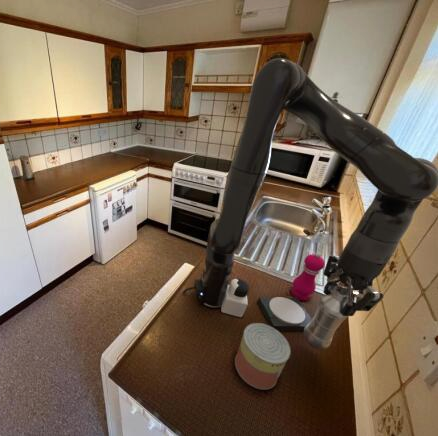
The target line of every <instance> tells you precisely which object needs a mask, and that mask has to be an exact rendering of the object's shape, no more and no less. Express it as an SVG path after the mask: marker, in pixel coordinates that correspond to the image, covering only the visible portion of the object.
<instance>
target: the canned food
mask: <svg viewBox="0 0 438 436" xmlns="http://www.w3.org/2000/svg"><path fill="white" fill-rule="evenodd" d="M242 333H243V334H242V337H241V340H240V343H239V347H238V350H237V353H236V355H235V357H234V365H235V370H236V371H237V374H238V375H239V377H240V378H241V379H242V380H243V381H244V382H245V383H246V384H247V385H249V386H251V387H253V388H254V389H257V390H262V391H263V390H264V391H265V390H266V391H267V390H270V389H272V388H274V387H275V386H276V384H277V381H278V379H279V377H280V376H281V373H282V372H283V369H284V368H285V366H286V364H287V362H288V360H289V359H290V357H291V354H292V353H291V352H292V351H291V350H292V349H291V346H290V344H289V341H288V339H287V338H286V337H285V336H284V334H283V333H281V331H278V330H276V329H275V328H273V327H271V326H269V324H268V323H262V322H252V323H250V324H248V325H247V326H246V327H245V328H244V329H243V332H242Z"/></svg>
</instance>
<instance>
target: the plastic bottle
mask: <svg viewBox="0 0 438 436" xmlns="http://www.w3.org/2000/svg"><path fill="white" fill-rule="evenodd" d="M346 289H347V288H346V287H345V286H342V285H338V286H335V287H334V289H333V290H332V291H331V294H327V295H325V294H324V295H323V296H322V297H321V298H320V299H319V301H318V304H317V308H316V311H315V314H314V315H313V318H311V319H312V320H311V322H310V323H309V324H308V325H307V326H306V327H305V328H304V331H302V335H303V339H304V340H305V342H306V343H307V344H308V345H309V346H310V347H311V348H313V349H315V350H320V351H321V350H327V349H328V348H329V347H330V346H331V344H332V342H333V337H334V335H335V332H336V331H337V329H338V328H339V327H340V325H341V324H342V323H343V322H344V321H345V320H346V319H348V317H349V316H343V315H342V314H341V311H342V309H343V308H344V306H345V304H346V303H348V295H347V294H346Z"/></svg>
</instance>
